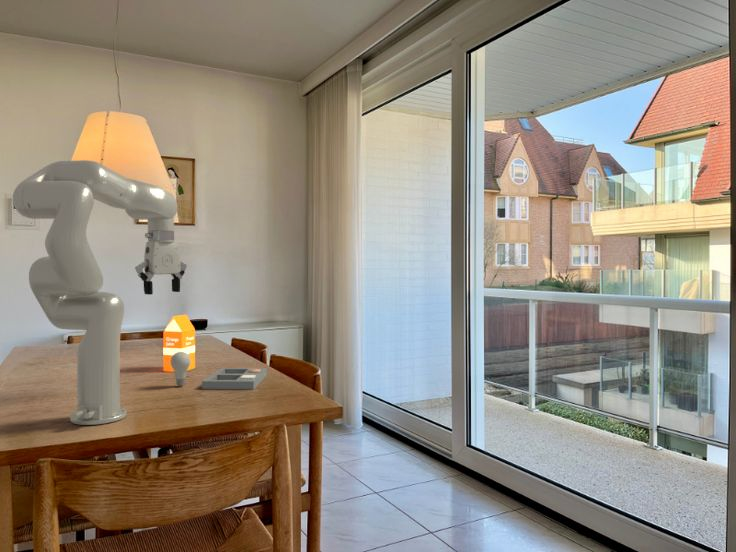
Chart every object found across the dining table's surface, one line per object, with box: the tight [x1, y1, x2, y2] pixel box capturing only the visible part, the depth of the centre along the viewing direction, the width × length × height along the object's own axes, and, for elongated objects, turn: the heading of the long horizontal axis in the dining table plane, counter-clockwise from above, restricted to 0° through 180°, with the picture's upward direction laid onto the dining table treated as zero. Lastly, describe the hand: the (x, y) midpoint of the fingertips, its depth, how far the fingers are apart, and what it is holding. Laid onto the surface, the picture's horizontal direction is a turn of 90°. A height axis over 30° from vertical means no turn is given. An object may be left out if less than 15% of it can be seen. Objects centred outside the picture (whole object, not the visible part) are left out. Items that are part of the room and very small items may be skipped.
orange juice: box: [162, 314, 196, 373], centre depth 197 cm, size 8×9×20 cm
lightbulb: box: [170, 352, 191, 387], centre depth 169 cm, size 6×6×11 cm
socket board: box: [201, 367, 268, 391], centre depth 177 cm, size 22×16×3 cm
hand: (162, 292), depth 164 cm, fingers open, 9 cm apart
